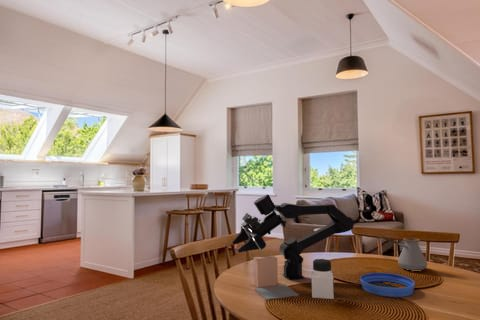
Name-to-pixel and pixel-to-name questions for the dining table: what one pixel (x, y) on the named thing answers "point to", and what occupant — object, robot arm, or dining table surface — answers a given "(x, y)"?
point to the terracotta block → (265, 271)
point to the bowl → (387, 288)
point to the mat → (276, 292)
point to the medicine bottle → (322, 279)
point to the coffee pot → (410, 254)
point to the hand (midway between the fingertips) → (235, 247)
